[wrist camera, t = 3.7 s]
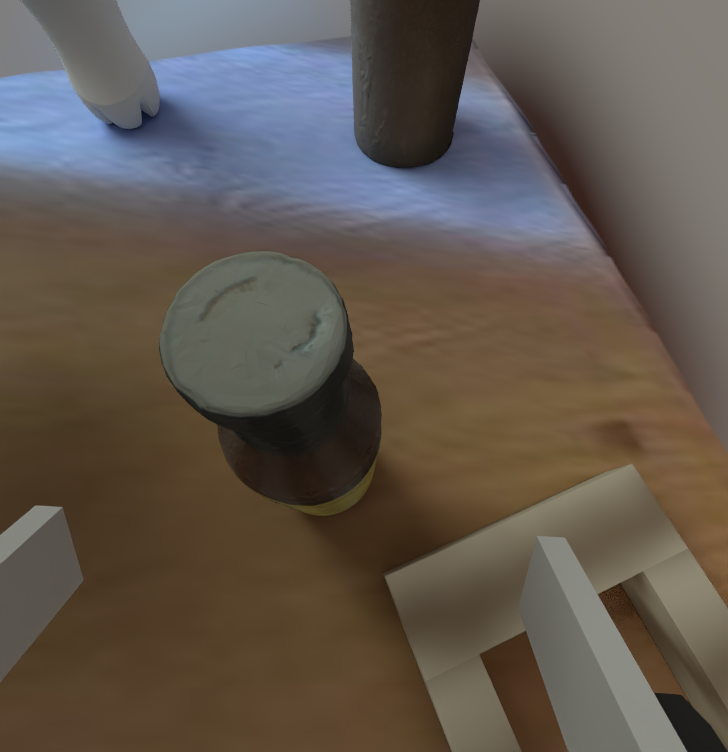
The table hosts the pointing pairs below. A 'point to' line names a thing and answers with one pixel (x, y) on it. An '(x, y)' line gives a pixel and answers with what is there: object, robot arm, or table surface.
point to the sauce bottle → (276, 379)
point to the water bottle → (100, 58)
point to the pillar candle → (408, 76)
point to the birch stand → (604, 570)
